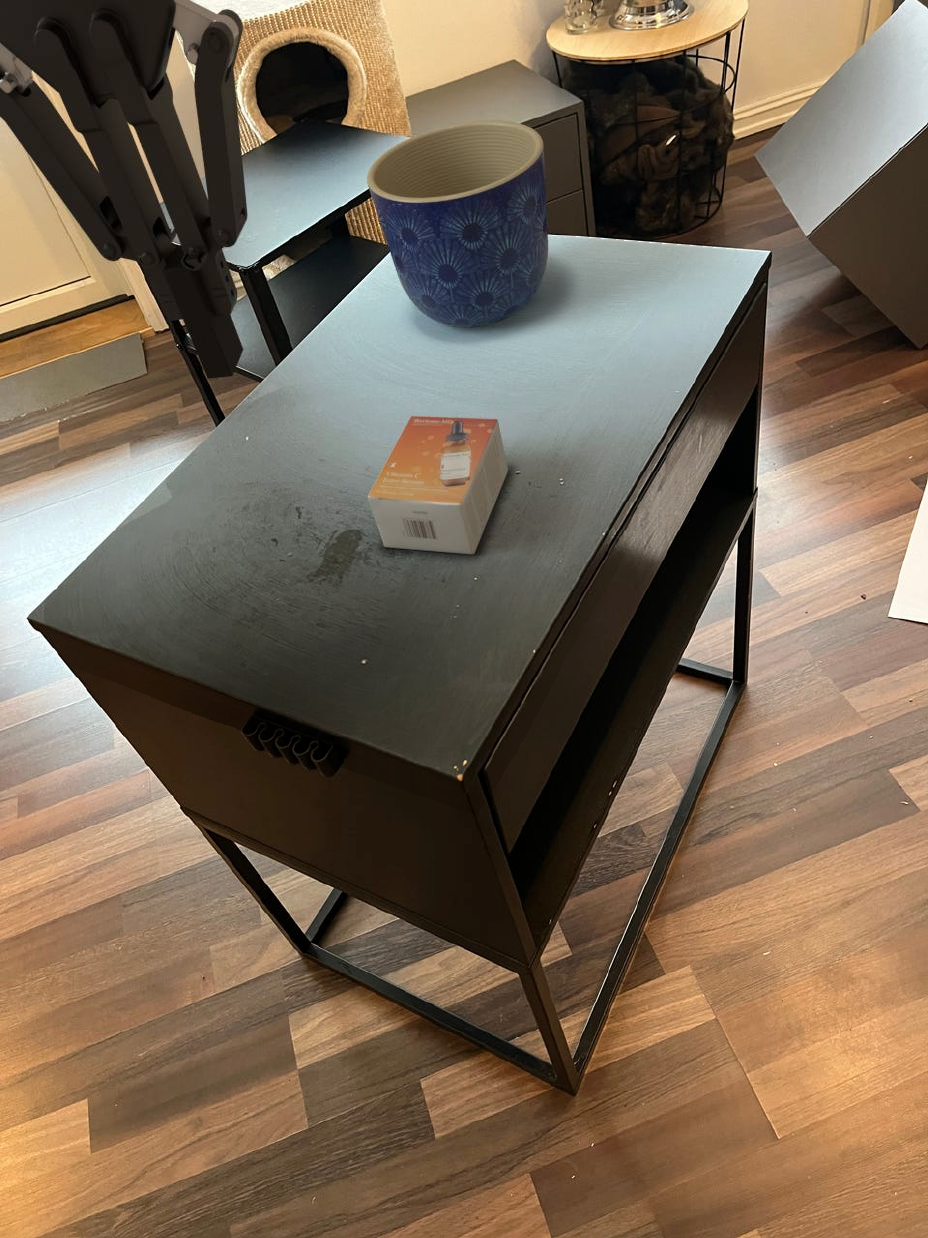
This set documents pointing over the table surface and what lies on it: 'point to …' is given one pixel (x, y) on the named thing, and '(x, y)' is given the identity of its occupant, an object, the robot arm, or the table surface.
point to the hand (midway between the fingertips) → (225, 363)
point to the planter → (465, 219)
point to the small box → (439, 484)
